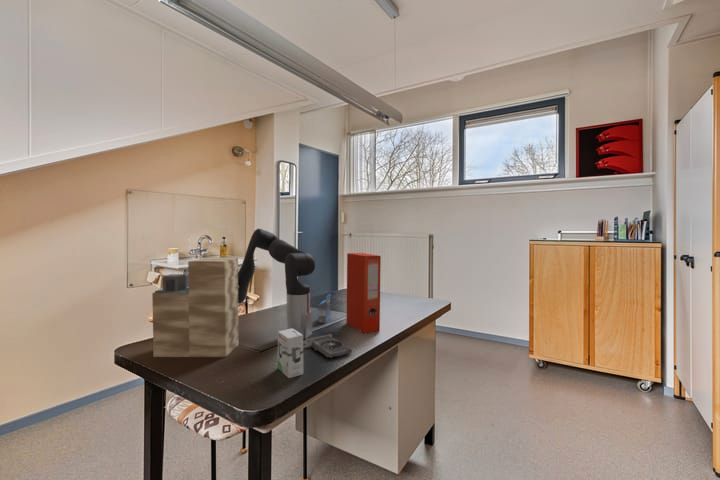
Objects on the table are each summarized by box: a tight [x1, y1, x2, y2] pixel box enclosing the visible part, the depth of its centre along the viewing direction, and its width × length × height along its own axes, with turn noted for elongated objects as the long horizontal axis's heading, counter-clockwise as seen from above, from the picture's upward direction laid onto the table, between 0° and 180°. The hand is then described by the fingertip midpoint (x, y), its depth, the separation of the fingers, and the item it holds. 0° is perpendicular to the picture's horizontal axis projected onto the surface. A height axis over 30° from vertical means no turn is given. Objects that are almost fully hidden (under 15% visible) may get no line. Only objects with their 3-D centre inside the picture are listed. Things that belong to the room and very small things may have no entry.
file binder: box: [346, 252, 382, 335], centre depth 143 cm, size 8×17×32 cm, turn 25°
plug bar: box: [162, 273, 189, 291], centre depth 120 cm, size 22×5×5 cm, turn 0°
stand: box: [151, 257, 240, 358], centre depth 115 cm, size 12×24×32 cm, turn 90°
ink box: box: [277, 328, 304, 379], centre depth 99 cm, size 9×5×12 cm, turn 36°
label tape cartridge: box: [317, 292, 332, 324], centre depth 154 cm, size 9×4×12 cm, turn 172°
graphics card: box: [303, 333, 353, 359], centre depth 115 cm, size 17×4×12 cm
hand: (210, 269), depth 138 cm, fingers open, 8 cm apart
